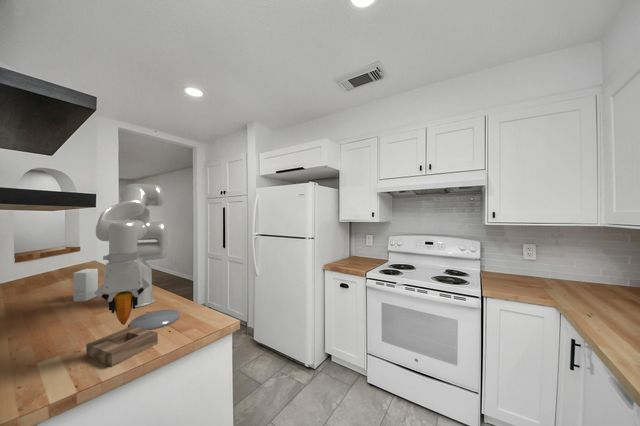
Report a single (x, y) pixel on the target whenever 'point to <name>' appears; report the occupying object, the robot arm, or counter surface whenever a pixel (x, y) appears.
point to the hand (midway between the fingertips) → (123, 309)
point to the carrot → (123, 306)
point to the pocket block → (121, 345)
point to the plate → (155, 319)
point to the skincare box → (85, 284)
